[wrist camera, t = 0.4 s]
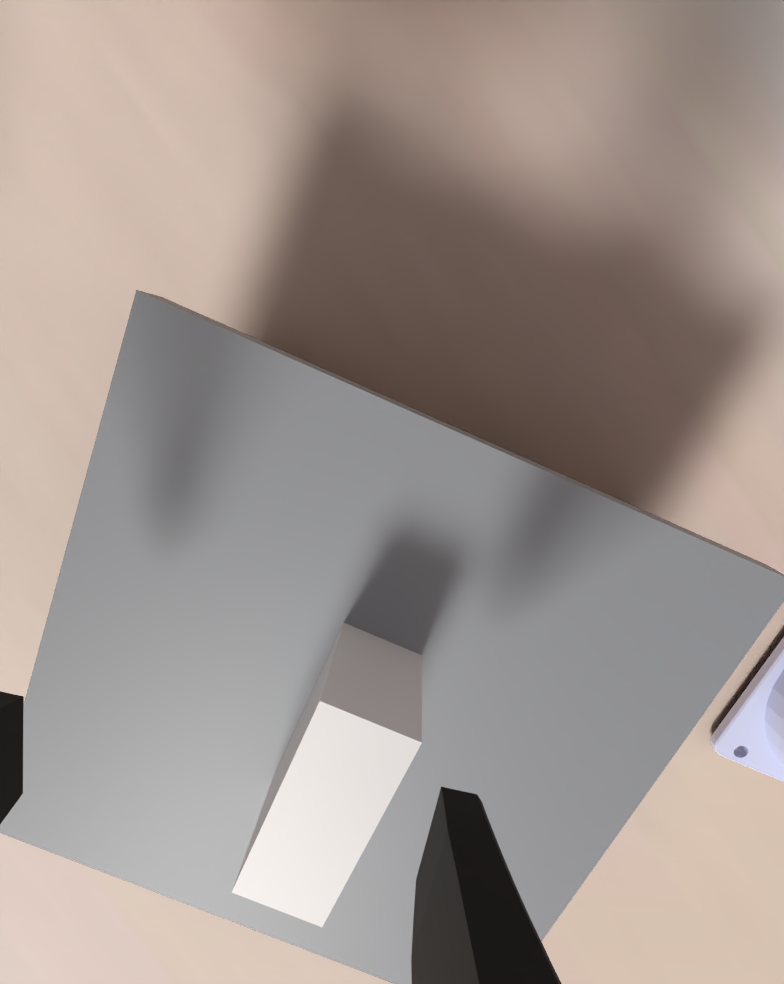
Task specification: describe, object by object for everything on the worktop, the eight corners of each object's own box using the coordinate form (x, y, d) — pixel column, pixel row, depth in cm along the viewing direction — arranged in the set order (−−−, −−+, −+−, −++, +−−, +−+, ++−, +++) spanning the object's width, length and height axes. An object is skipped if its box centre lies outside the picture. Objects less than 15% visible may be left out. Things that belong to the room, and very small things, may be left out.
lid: (765, 564, 12) (925, 655, 8) (482, 978, 15) (501, 1170, 12) (161, 297, 11) (30, 260, 7) (18, 798, 15) (-116, 942, 11)
